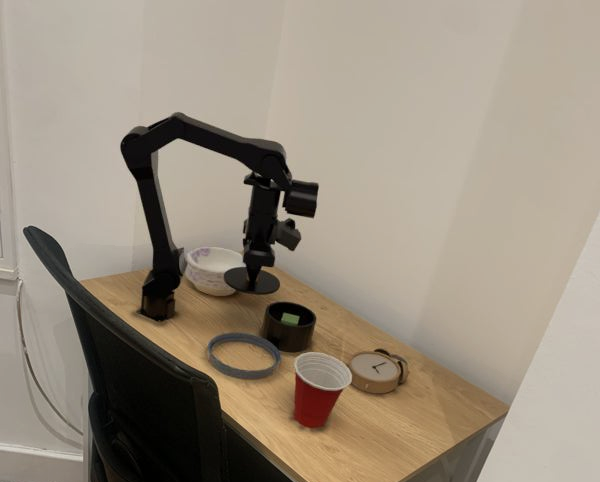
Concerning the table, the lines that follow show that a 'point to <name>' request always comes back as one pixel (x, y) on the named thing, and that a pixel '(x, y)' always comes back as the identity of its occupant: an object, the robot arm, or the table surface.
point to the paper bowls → (212, 269)
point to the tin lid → (241, 282)
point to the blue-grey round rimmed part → (245, 339)
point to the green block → (290, 319)
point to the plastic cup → (318, 387)
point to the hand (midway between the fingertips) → (252, 278)
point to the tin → (288, 327)
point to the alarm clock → (377, 370)
